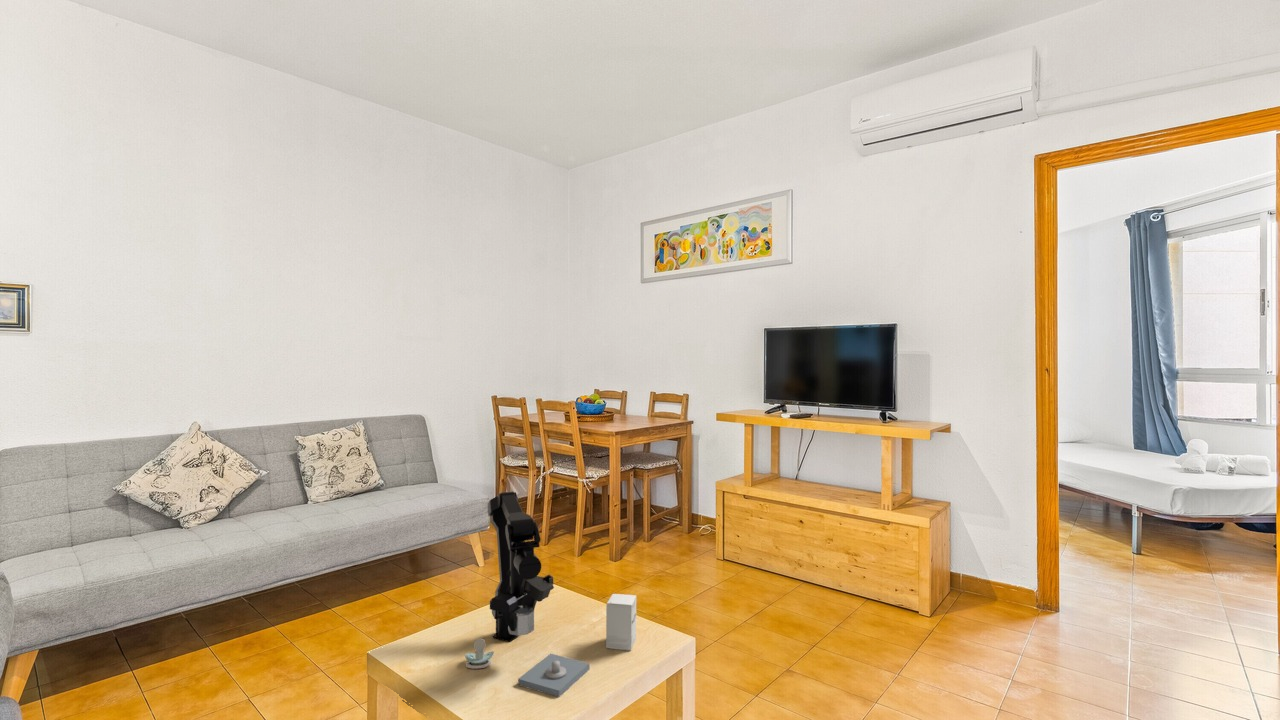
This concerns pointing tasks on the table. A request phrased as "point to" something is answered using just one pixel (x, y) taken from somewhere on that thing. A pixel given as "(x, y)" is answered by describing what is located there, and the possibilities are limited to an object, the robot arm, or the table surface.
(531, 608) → the hub
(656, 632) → the table surface
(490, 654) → the pacifier
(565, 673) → the block
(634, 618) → the supplement box
